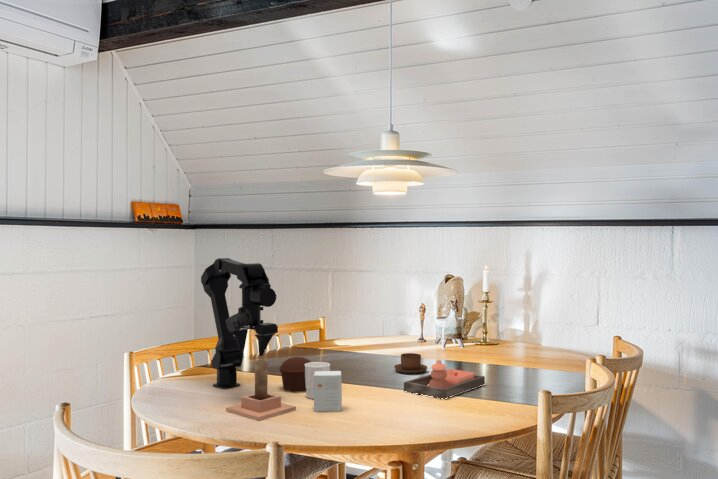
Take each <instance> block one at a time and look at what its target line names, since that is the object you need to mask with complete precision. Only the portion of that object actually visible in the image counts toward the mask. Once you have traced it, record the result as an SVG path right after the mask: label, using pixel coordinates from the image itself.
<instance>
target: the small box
mask: <svg viewBox="0 0 718 479" xmlns="http://www.w3.org/2000/svg"><path fill="white" fill-rule="evenodd" d="M342 384H343V383H342V371H341V370H330V371H315V372H314V399H313V411H314V412H342V407H343V406H342V405H343V403H342V402H343V398H342V392H343V390H342V389H343V388H342V387H343V385H342Z"/></svg>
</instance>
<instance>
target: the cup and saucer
mask: <svg viewBox="0 0 718 479" xmlns="http://www.w3.org/2000/svg"><path fill="white" fill-rule="evenodd" d="M394 369H395V370H396V371H397V372H399V373H404V374H420V373H423V372H426V370H428V366H427V365H425V364H422V355H421V354H420V353H412V352H411V353H410V352H409V353H406V352H405V353H402V354H400V363H399V364H395V365H394Z"/></svg>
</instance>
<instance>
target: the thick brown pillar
mask: <svg viewBox="0 0 718 479" xmlns="http://www.w3.org/2000/svg"><path fill="white" fill-rule="evenodd" d="M268 366H269V365H268V360H256V361H254V394H255V399H257V400H263V399H267V393H268V381H269V380H268V378H269V377H268V374H269V373H268Z"/></svg>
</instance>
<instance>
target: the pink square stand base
mask: <svg viewBox="0 0 718 479" xmlns="http://www.w3.org/2000/svg"><path fill="white" fill-rule="evenodd" d="M296 410H297V406H295V405H291V404H287V403H283V402H282V396H280V395H278V394H277V395H276V394H272V393H269V392H267V399H263V400H257V399H255V393H253V394H248V395H244V396H241V397H240V403H239V404H235V405H232V406H231V405H230V406H227V407H225V411H226V412H227V413H231V414H234V415H237V416H241V417H244V418H247V419H251V420H255V421H262V420H267V419H269V418H274V417H276V416H280V415H283V414H286V413H291V412H293V411H296Z"/></svg>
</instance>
